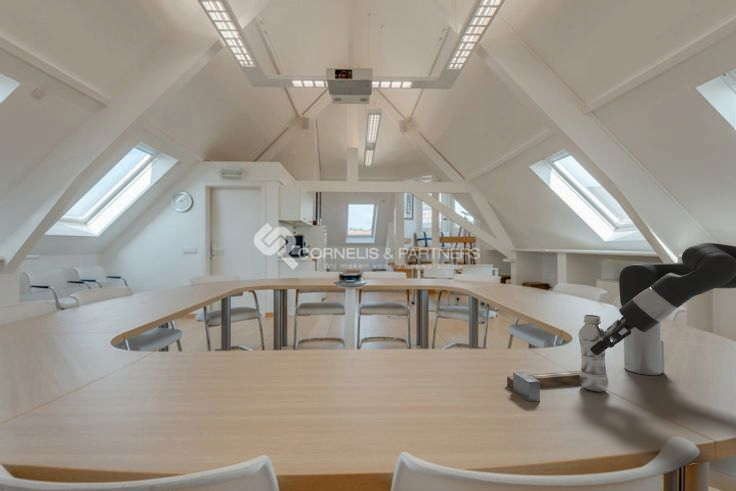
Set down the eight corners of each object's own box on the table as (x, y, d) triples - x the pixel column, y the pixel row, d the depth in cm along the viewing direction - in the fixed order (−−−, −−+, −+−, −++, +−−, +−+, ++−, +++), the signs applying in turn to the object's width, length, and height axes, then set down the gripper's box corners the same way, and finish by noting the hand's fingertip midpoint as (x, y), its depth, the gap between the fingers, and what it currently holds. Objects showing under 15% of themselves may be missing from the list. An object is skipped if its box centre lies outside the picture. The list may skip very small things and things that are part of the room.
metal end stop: (523, 390, 97) (523, 371, 97) (540, 400, 90) (539, 381, 90) (513, 390, 96) (513, 372, 96) (529, 401, 89) (528, 382, 89)
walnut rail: (594, 377, 104) (594, 369, 105) (603, 381, 102) (602, 372, 102) (507, 385, 100) (507, 376, 100) (513, 389, 97) (512, 379, 97)
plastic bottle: (613, 395, 92) (611, 318, 92) (584, 393, 94) (583, 318, 94) (602, 385, 98) (600, 314, 99) (575, 384, 100) (574, 313, 100)
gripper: (662, 326, 81) (604, 367, 88) (660, 316, 92) (608, 353, 99) (632, 301, 84) (579, 343, 91) (633, 294, 96) (586, 332, 103)
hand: (594, 348), depth 95 cm, fingers open, 8 cm apart
